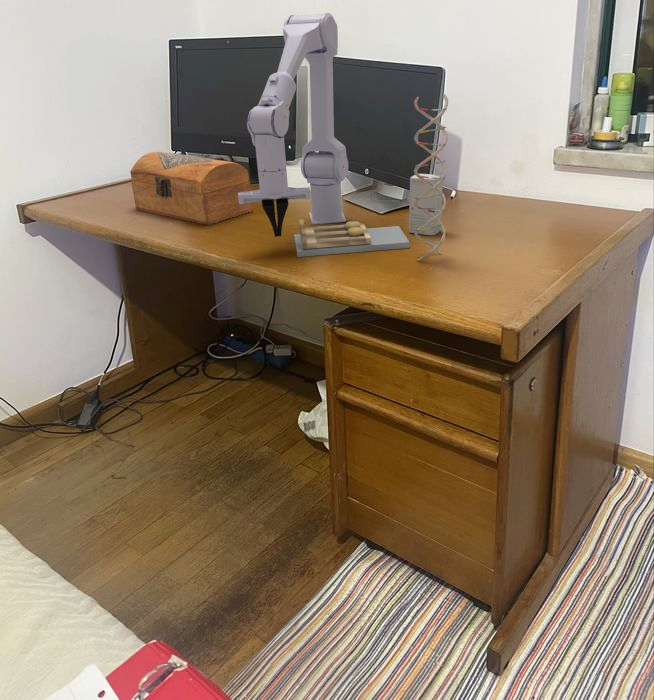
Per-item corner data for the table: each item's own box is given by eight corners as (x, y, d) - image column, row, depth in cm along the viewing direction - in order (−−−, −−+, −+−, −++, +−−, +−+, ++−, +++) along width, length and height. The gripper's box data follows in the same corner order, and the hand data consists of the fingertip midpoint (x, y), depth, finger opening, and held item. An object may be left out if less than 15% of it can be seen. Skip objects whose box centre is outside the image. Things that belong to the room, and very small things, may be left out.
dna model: (433, 250, 138) (435, 92, 125) (453, 258, 133) (457, 94, 120) (405, 256, 135) (404, 95, 122) (424, 265, 130) (426, 98, 117)
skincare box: (408, 233, 149) (407, 177, 144) (416, 227, 153) (416, 172, 147) (434, 236, 146) (435, 179, 141) (442, 230, 150) (443, 174, 145)
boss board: (294, 239, 150) (293, 223, 148) (398, 231, 151) (398, 214, 149) (297, 257, 139) (296, 239, 137) (409, 247, 140) (409, 230, 139)
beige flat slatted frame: (300, 233, 149) (299, 219, 147) (363, 228, 150) (363, 214, 148) (303, 249, 139) (302, 233, 138) (371, 243, 140) (370, 228, 138)
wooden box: (132, 211, 182) (122, 157, 176) (182, 197, 192) (175, 146, 186) (202, 228, 163) (194, 169, 157) (254, 212, 174) (248, 156, 168)
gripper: (235, 175, 133) (242, 243, 139) (309, 170, 134) (314, 237, 140) (236, 168, 139) (243, 233, 145) (307, 163, 140) (311, 228, 146)
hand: (278, 235), depth 143 cm, fingers closed
